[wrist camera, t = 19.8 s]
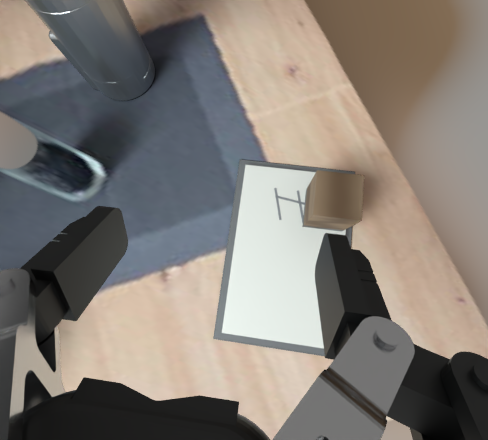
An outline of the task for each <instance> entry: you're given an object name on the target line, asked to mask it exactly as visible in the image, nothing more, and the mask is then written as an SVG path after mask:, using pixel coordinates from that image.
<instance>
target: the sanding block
mask: <svg viewBox="0 0 488 440" xmlns="http://www.w3.org/2000/svg"><path fill="white" fill-rule="evenodd" d="M363 189H364V175H357V174H348V173H339V172H329V171H320V170H317V171H316V173H315V175H314V177H313V178H312V180H311V182H310V184H309V186H308V187H307V189H306V195H305V205H304V216H303V226H302V227H309V228H317V229H325V230H333V231H341V232H342V231H344V230H345V229H347V228H349V227H351V226H353V225H355V224H357V223H358V222H360V221H362V208H363Z"/></svg>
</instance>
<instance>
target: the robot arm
mask: <svg viewBox="0 0 488 440" xmlns="http://www.w3.org/2000/svg"><path fill="white" fill-rule="evenodd" d="M25 1H26V2H27V3H28V5H29V6H30V7H31V8H32V9H33V10H34V12H35V13H36V14H37V15H38V16H39V18H40V19H41V20H42V21H43V22H44V24H45V25H46V26H47V27H48V28H49V30H50V32H49V38H50V39H51V41H52V42H53V43H54V44H55V45H56V46H57V48H58V49H59V50H60V51H61V52H62V53H63V54H64V56H65V57H66V58H67V59H68V60H69V61H70V62H71V64H72V65H73V66H74V67H75V68H76V69H77V70H78V72H79V73H80V74H81V75H82V76H83V77H84V78H85V80H86V81H87V82H88V83H89V84H90V85H91V87H92V88H93V89H95V90H100V91H101V92H102V93H103V94H104V95H106V96H107V97H109V98H111V99H114V100H120V101H125V100H131V99H134V98H136V97H138V96H140V95H142V94H143V93H144V92H146V91H147V89H148V88H149V87H150V86H151V84H152V82H153V80H154V77H155V67H154V64H153V61H152V59H151V57H150V55H149V53H148V51H147V49H146V47H145V45H144V43H143V40H142V38H141V36H140V34H139V32H138V30H137V28H136V26H135V24H134V22H133V20H132V18H131V16H130V14H129V12H128V10H127V8H126V6H125V3H124V1H123V0H25ZM127 246H128V238H127V234H126V229H125V225H124V220H123V216H122V212H121V210H120V209H119V208H112V207H104V206H98V207H96V208H95V209H94V210H93V211H91V212H90V213H89V214H88V215H87V216H86V217H82V218H80V219H79V220H77V221H75V222H73V223H71V224H69V225H68V226H67V227H66V228H65V229H64V230H63V231H62V232H61V234H58V235H57V236H56V237H55V238H54V239H53V241H52V242H49V243H48V244H47V245H46V246H45V247H44V248H43V249H41V250H40V251H39V252H38V253H37V254H36V255H35V256H34V257H32V258H31V259H30V260H29V261H28V262H27V263H26V264H25V265H24V266H22V267H21V268H20V269H18V268H14V269H6V270H2V271H0V440H270V439H269V437H268V436H267V435H266V434H265V433H264V432H263V431H262V430H261V429H260V428H259V427H258V426H257V425H256V424H254V423H253V422H252V421H250V420H249V419H247V418H246V417H244V416H242V415H240V414H238V405H239V402H236V401H230V400H224V399H217V398H211V397H205V396H194V397H186V398H178V399H170V400H163V401H155V400H152V399H150V398H148V397H146V396H144V395H142V394H141V393H139V392H137V391H135V390H133V389H131V388H129V387H127V386H125V385H123V384H121V383H116V382H109V381H103V380H97V379H90V378H83V380H82V381H81V383H80V385H79V386H78V388H77V390H74V391H70V392H65V389H64V386H63V382H62V375H61V357H60V338H59V329H58V327H57V325H58V324H59V322H60V321H61V320H62V319H65V320H72V321H77V320H78V318H79V317H80V315H81V314H82V313H83V311H84V310H85V308H86V307H87V306H88V304H89V303H90V301H91V300H92V299H93V297H94V296H95V295H96V293H97V292H98V290H99V289H100V288H101V286H102V285H103V283H104V282H105V281H106V279H107V278H108V276H109V275H110V274H111V272H112V271H113V269H114V268H115V267H116V265H117V264H118V263H119V261H120V260H121V258H122V257H123V256H124V254H125V252H126V250H127ZM376 282H377V281H376V278H375V276H374V274H373V270H372V268H371V265H370V262H369V260H368V259H367V258H366V257H365V256H364V255H363V254H362V253H361V251H360V250H353V249H351V247H350V244H349V241H348V238H347V236H346V235H340V234H331V233H325V234H324V237H323V240H322V243H321V247H320V251H319V254H318V258H317V261H316V266H315V284H316V291H317V299H318V307H319V314H320V322H321V330H322V337H323V345H324V353H325V358H328V359H334V361H333V362H332V364H331V365H330V366H329V368H328V369H327V370H324V371H323V372H322V373H321V374H320V375H319V376H318V378H317V379H316V381H315V382H314V383H313V385H312V386H311V387H310V389H309V390H308V392H307V393H306V394H305V396H304V397H303V398H302V400H301V401H300V403H299V404H298V405H297V407H296V408H295V409H294V411H293V412H292V414H291V415H290V416H289V418H288V419H287V420H286V422H285V423H284V425H283V426H282V427H281V429H280V430H279V432H278V433H277V434H276V436H275V437H274V438H273V440H380V439H381V437H382V434H383V433H384V430H385V427H386V424H387V420H386V416H388V417H390V418H392V419H394V420H396V421H398V422H400V423H402V424H404V425H406V426H408V427H410V430H411V434H412V437H413V440H488V359H487V358H485V357H482V356H480V355H478V354H475V353H471V352H459V353H456V354H455V355H454V356H453V357H452V358H451V359H447V358H445V357H443V356H440V355H438V354H435V353H433V352H430V351H428V350H426V349H423V348H421V347H419V346H417V345H415V344H413V342H412V340H411V338H410V336H409V335H408V334H407V333H406V331H405V330H404V329H403V328H401V327H400V326H399V325H398V324H396V323H395V322H393V321H392V320H391V318H390V315H389V313H388V310H387V307H386V305H385V302H384V299H383V297H382V294H381V291H380V289H379V286H378V284H377V283H376Z"/></svg>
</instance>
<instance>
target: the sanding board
mask: <svg viewBox="0 0 488 440" xmlns="http://www.w3.org/2000/svg"><path fill="white" fill-rule="evenodd" d="M317 170H320V171H329V172H339V173H348V174H355V172H352V171H343V170H333V169H324V168H315V167H305V166H296V165H286V164H277V163H268V162H258V161H249V160H240V161H239V168H238V175H237V181H236V188H235V195H234V202H233V209H232V216H231V222H230V229H229V236H228V243H227V250H226V256H225V263H224V270H223V277H222V284H221V290H220V297H219V304H218V311H217V318H216V324H215V331H214V338H213V339H218V340H224V341H231V342H237V343H243V344H250V345H256V346H263V347H269V348H276V349H282V350H288V351H295V352H301V353H308V354H314V355H321V356H325V353H324V345H323V337H322V330H321V322H320V314H319V307H318V299H317V291H316V284H315V266H316V261H317V258H318V254H319V251H320V247H321V243H322V240H323V237H324V234H325V233H331V234H340V235H346V236H347V238H348V241H349V244H350V247H351V234H352V226H351V227H349V228H347V229H345V230H344V231H342V232H341V231H333V230H325V229H317V228H309V227H302V226H303V216H304V205H305V195H306V189H307V187H308V186H309V184H310V182H311V180H312V178H313V177H314V175H315V173H316V171H317Z"/></svg>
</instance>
